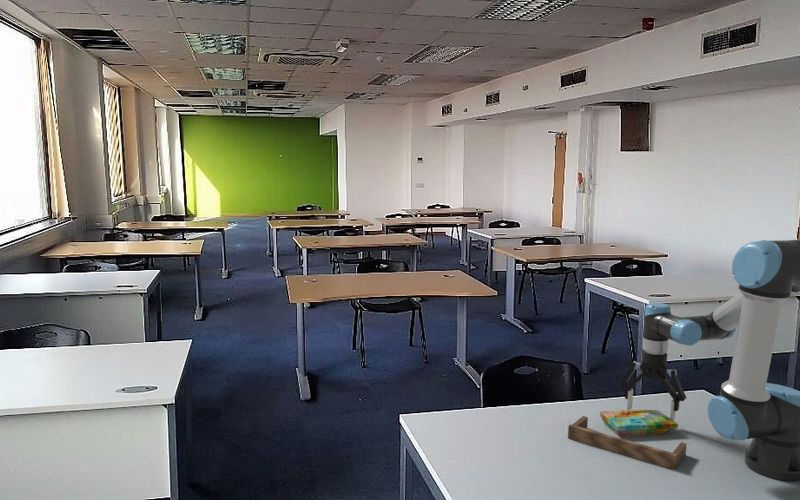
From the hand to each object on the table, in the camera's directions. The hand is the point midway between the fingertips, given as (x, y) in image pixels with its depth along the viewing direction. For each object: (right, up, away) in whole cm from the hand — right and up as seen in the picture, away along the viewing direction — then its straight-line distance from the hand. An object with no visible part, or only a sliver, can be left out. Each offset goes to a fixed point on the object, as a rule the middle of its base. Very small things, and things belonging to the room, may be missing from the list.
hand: (650, 414), depth 204 cm
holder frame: (-15, -5, -18) cm, 23 cm away
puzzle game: (-6, -4, -5) cm, 9 cm away
